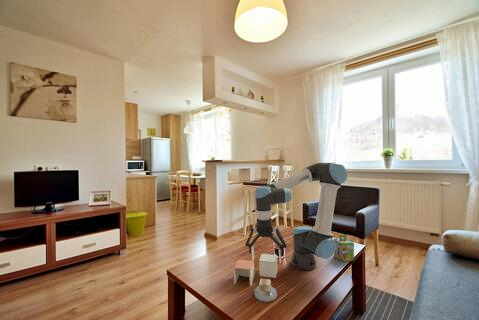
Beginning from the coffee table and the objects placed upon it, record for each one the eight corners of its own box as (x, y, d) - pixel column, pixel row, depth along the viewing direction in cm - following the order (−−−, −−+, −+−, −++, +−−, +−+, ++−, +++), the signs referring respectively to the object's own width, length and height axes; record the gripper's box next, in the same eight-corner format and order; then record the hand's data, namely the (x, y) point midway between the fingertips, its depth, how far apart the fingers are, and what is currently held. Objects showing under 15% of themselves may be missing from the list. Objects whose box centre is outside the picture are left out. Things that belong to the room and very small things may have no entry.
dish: (277, 289, 108) (277, 286, 108) (276, 303, 97) (275, 300, 97) (256, 286, 111) (256, 284, 111) (252, 299, 100) (252, 297, 100)
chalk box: (341, 262, 135) (340, 238, 135) (333, 255, 144) (332, 233, 144) (354, 261, 136) (354, 237, 136) (346, 254, 145) (345, 233, 145)
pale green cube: (277, 269, 127) (276, 255, 127) (275, 277, 118) (275, 262, 118) (262, 268, 130) (261, 253, 130) (259, 275, 121) (259, 260, 121)
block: (270, 289, 105) (270, 279, 105) (269, 296, 101) (269, 285, 101) (260, 288, 107) (260, 278, 107) (259, 294, 102) (259, 284, 102)
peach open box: (254, 276, 120) (253, 261, 120) (251, 285, 111) (250, 269, 111) (238, 274, 122) (238, 259, 122) (234, 283, 114) (233, 267, 114)
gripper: (290, 216, 106) (292, 258, 106) (241, 215, 112) (243, 255, 112) (289, 220, 99) (292, 266, 99) (237, 219, 105) (240, 262, 105)
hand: (266, 260), depth 106 cm, fingers open, 13 cm apart
